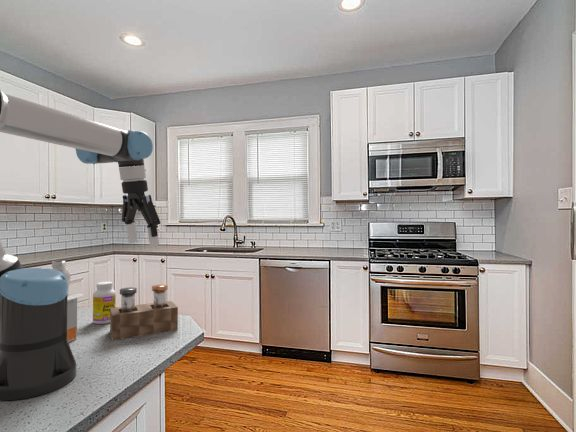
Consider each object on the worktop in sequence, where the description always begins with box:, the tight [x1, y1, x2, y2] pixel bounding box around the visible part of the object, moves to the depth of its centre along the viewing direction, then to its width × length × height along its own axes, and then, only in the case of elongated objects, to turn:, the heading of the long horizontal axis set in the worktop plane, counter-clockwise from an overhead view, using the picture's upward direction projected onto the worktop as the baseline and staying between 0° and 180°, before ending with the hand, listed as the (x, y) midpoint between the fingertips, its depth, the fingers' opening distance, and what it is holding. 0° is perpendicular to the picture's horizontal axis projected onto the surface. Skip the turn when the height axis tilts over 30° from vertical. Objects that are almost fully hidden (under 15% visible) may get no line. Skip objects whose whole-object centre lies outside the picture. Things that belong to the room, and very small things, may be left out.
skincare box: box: [67, 296, 78, 343], centre depth 96 cm, size 6×4×12 cm
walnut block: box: [109, 300, 179, 341], centre depth 106 cm, size 18×9×7 cm, turn 121°
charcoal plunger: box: [119, 287, 138, 313], centre depth 103 cm, size 5×5×9 cm
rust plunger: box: [151, 284, 169, 309], centre depth 108 cm, size 5×5×9 cm
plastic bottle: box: [51, 259, 71, 297], centre depth 113 cm, size 6×7×20 cm
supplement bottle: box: [92, 281, 117, 325], centre depth 114 cm, size 7×7×13 cm
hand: (143, 244), depth 114 cm, fingers open, 13 cm apart
